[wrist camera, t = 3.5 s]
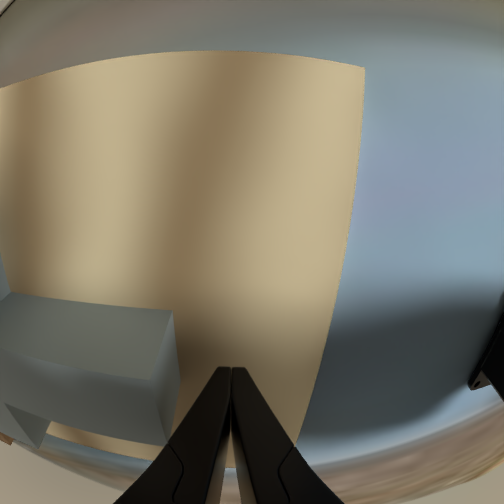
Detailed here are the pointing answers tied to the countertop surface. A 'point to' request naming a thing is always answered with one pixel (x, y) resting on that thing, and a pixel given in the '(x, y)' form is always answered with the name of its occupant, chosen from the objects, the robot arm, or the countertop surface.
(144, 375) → the tee block
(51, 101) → the birch board
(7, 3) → the medicine bottle
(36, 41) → the countertop surface
